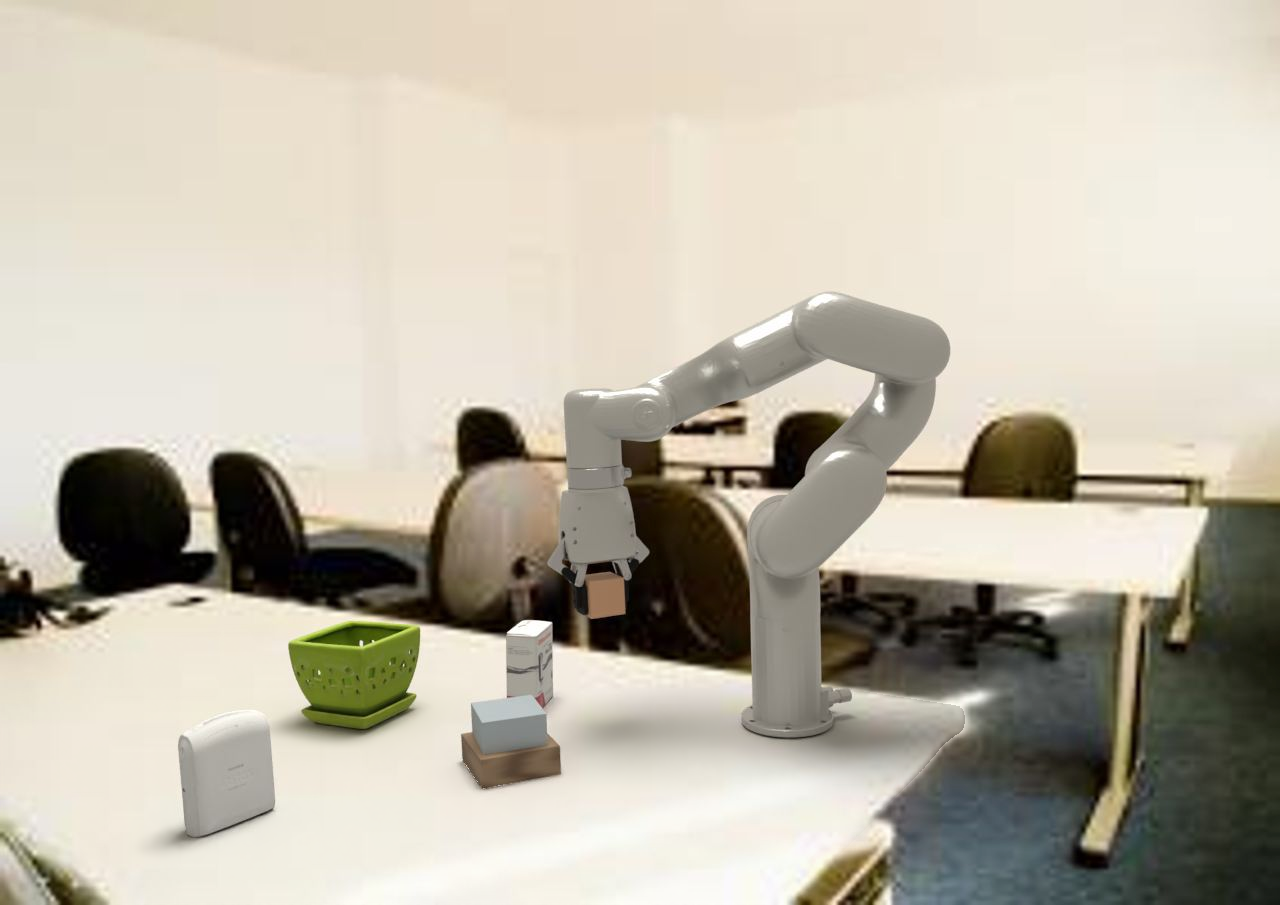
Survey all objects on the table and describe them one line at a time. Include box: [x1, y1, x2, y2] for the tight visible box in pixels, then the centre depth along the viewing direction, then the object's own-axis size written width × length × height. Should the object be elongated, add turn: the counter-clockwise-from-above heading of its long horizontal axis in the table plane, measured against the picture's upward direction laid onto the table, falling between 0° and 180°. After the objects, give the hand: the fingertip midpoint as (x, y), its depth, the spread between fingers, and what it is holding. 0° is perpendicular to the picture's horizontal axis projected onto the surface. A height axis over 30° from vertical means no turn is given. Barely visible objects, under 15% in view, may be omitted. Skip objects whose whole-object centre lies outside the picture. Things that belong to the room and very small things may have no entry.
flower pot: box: [287, 620, 421, 730], centre depth 155 cm, size 14×14×13 cm
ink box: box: [505, 619, 554, 708], centre depth 158 cm, size 9×5×12 cm, turn 168°
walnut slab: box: [460, 731, 562, 790], centre depth 134 cm, size 10×10×4 cm
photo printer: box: [177, 709, 276, 838], centre depth 121 cm, size 10×4×12 cm, turn 140°
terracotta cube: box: [584, 571, 626, 620], centre depth 147 cm, size 5×5×5 cm
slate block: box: [470, 695, 548, 755], centre depth 134 cm, size 8×8×4 cm
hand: (601, 608), depth 147 cm, fingers closed on terracotta cube, 5 cm apart
